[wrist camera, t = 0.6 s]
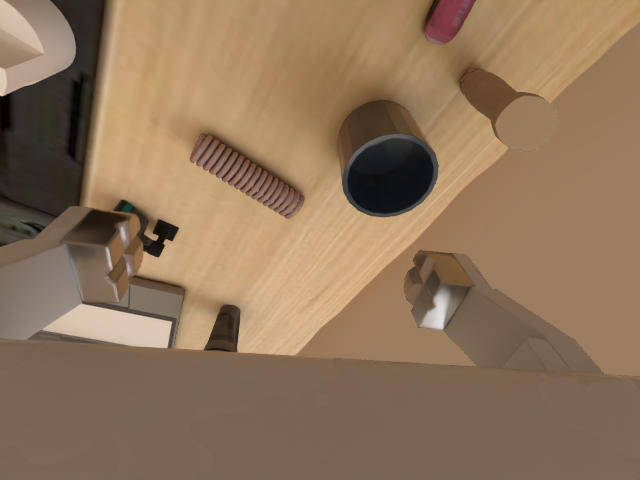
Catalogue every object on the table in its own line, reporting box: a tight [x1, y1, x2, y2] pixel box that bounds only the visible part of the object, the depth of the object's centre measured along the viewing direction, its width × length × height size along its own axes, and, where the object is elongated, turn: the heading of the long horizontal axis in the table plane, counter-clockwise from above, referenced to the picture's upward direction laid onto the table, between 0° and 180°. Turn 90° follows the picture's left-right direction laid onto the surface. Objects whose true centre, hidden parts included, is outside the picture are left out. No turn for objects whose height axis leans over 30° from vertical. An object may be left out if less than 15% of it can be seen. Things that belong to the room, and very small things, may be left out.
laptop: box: [26, 276, 185, 349], centre depth 62 cm, size 35×26×28 cm
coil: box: [190, 135, 305, 219], centre depth 50 cm, size 5×5×18 cm
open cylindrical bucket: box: [338, 100, 439, 217], centre depth 44 cm, size 12×12×11 cm
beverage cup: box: [204, 305, 240, 352], centre depth 67 cm, size 7×7×20 cm
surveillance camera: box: [113, 200, 179, 257], centre depth 53 cm, size 6×12×10 cm
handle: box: [460, 69, 559, 152], centre depth 37 cm, size 5×6×15 cm
